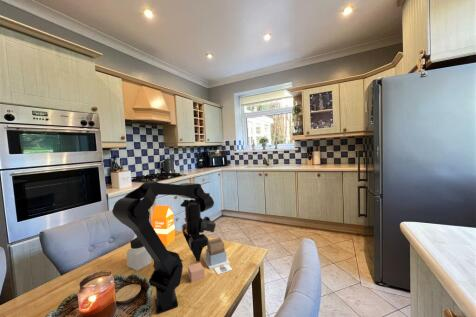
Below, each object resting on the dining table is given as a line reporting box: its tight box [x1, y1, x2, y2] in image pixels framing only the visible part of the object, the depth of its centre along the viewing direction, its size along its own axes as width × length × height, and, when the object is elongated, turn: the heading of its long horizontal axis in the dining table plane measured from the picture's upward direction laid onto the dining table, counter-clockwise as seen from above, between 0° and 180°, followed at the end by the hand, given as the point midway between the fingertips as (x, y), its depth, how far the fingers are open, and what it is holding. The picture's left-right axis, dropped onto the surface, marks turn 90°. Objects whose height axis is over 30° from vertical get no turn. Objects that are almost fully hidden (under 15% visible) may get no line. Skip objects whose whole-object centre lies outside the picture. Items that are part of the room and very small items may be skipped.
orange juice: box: [150, 205, 176, 246], centre depth 111 cm, size 8×9×20 cm
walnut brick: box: [206, 237, 226, 256], centre depth 89 cm, size 6×6×4 cm
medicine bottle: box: [126, 236, 153, 272], centre depth 89 cm, size 7×7×12 cm
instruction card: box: [213, 264, 233, 275], centre depth 83 cm, size 4×6×1 cm
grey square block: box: [203, 248, 231, 270], centre depth 89 cm, size 9×9×5 cm
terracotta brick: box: [187, 262, 206, 284], centre depth 79 cm, size 5×5×4 cm
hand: (195, 255), depth 78 cm, fingers open, 9 cm apart
